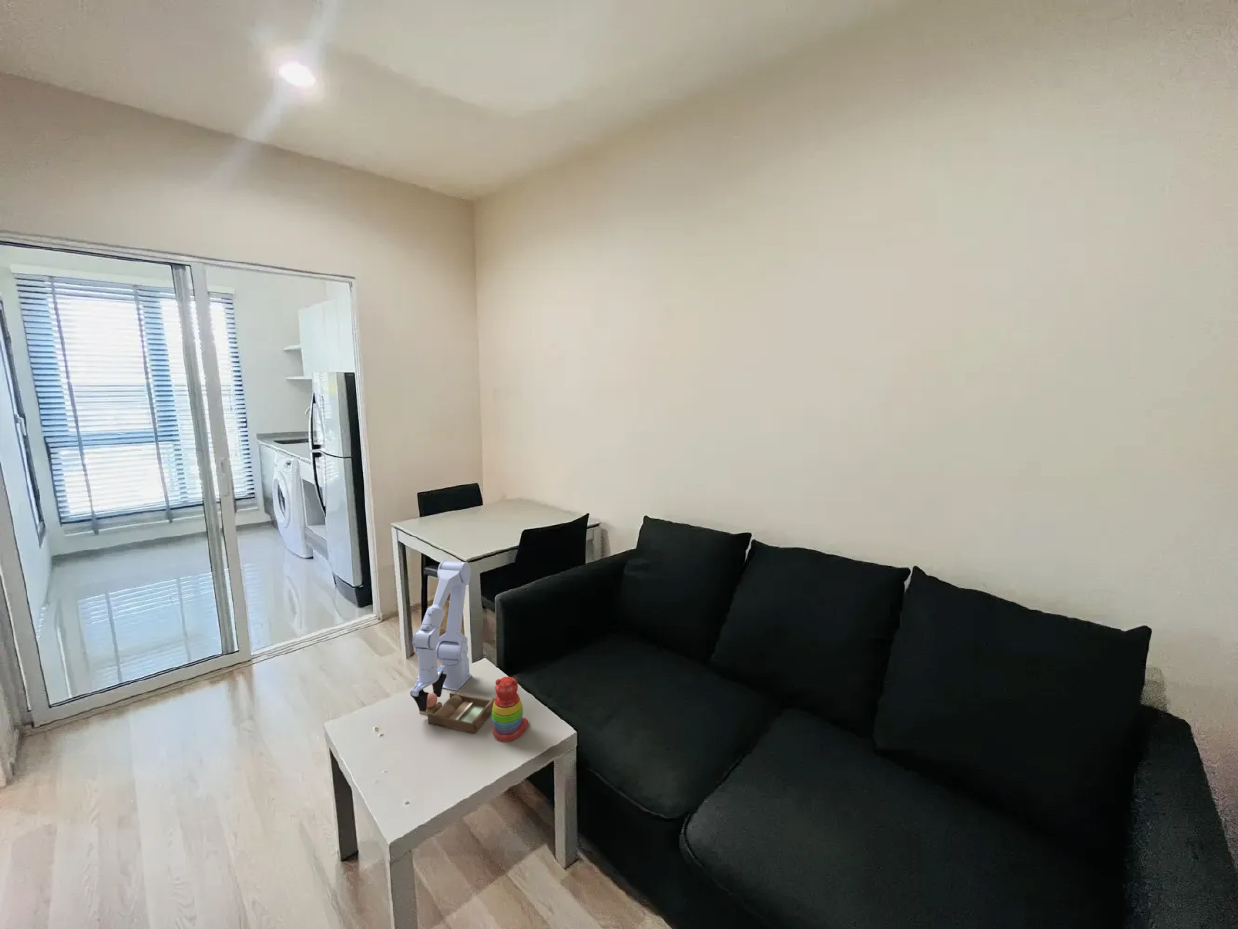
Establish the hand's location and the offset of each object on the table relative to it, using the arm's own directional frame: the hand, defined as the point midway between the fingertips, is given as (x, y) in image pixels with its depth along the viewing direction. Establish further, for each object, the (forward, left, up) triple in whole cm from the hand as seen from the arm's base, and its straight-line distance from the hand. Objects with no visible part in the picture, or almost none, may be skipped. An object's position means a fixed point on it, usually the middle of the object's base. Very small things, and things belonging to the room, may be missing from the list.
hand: (430, 703), depth 162 cm
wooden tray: (0, +12, -5) cm, 13 cm away
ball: (0, 0, +1) cm, 1 cm away
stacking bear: (+2, +29, -3) cm, 30 cm away
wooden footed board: (0, 0, -3) cm, 3 cm away
